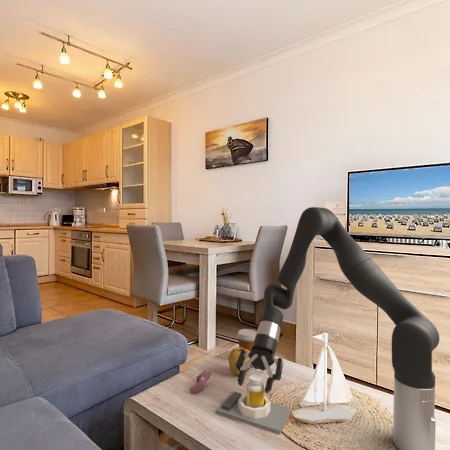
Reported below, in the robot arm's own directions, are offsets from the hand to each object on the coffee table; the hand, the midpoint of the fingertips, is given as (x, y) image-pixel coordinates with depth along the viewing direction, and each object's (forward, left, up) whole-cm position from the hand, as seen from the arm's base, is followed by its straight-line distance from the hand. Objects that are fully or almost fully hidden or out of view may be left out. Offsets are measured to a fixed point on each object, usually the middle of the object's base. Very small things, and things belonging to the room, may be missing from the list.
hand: (253, 388), depth 96 cm
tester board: (0, -1, -8) cm, 8 cm away
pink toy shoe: (+22, -6, -8) cm, 24 cm away
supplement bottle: (0, -2, -7) cm, 7 cm away
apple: (+14, -22, -8) cm, 27 cm away
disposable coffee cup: (+16, -34, -8) cm, 38 cm away
